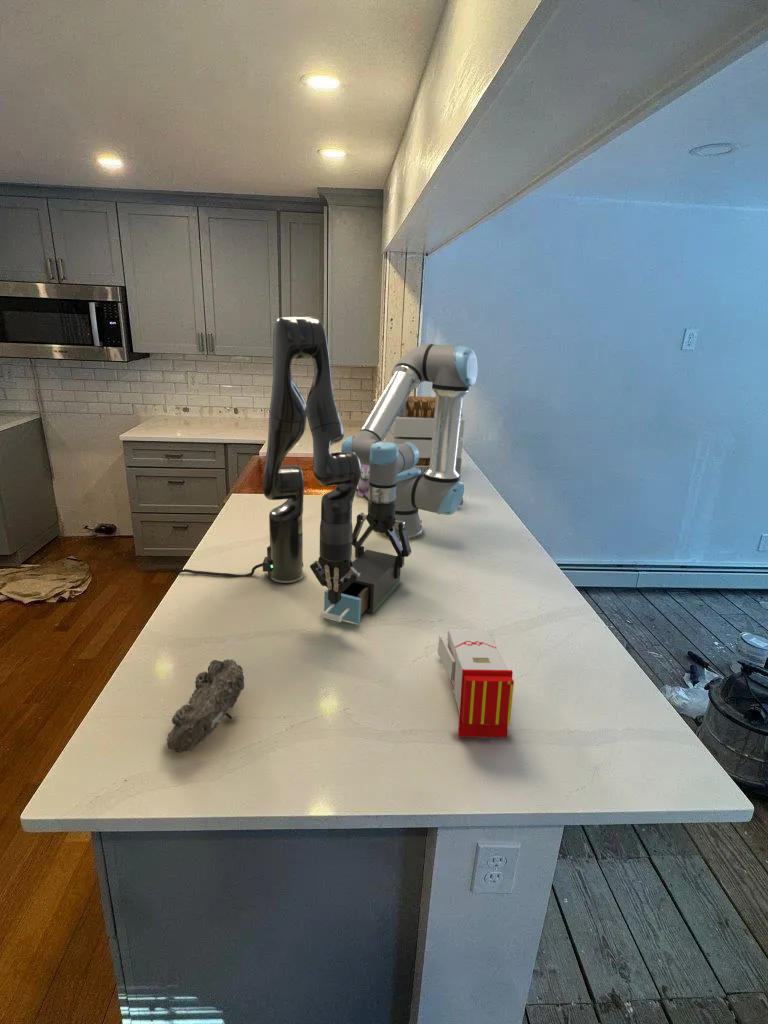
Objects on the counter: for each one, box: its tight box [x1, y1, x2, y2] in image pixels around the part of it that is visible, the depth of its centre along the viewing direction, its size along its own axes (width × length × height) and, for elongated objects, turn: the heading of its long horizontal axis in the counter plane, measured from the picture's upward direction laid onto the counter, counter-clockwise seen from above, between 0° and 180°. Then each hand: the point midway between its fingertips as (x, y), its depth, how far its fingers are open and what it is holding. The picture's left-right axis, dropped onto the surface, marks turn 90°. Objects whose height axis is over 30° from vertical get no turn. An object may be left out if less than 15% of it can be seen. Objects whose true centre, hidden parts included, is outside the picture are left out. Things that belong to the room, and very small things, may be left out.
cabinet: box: [343, 549, 401, 614], centre depth 156 cm, size 19×11×8 cm, turn 157°
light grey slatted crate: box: [384, 395, 465, 482], centre depth 268 cm, size 34×33×41 cm
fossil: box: [166, 658, 245, 754], centre depth 106 cm, size 22×10×15 cm
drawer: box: [320, 580, 371, 624], centre depth 146 cm, size 24×10×6 cm, turn 157°
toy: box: [437, 628, 515, 738], centre depth 117 cm, size 12×13×30 cm
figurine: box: [357, 464, 369, 498], centre depth 238 cm, size 9×10×15 cm
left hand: (334, 602), depth 137 cm, fingers closed
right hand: (378, 572), depth 162 cm, fingers closed on cabinet, 11 cm apart
